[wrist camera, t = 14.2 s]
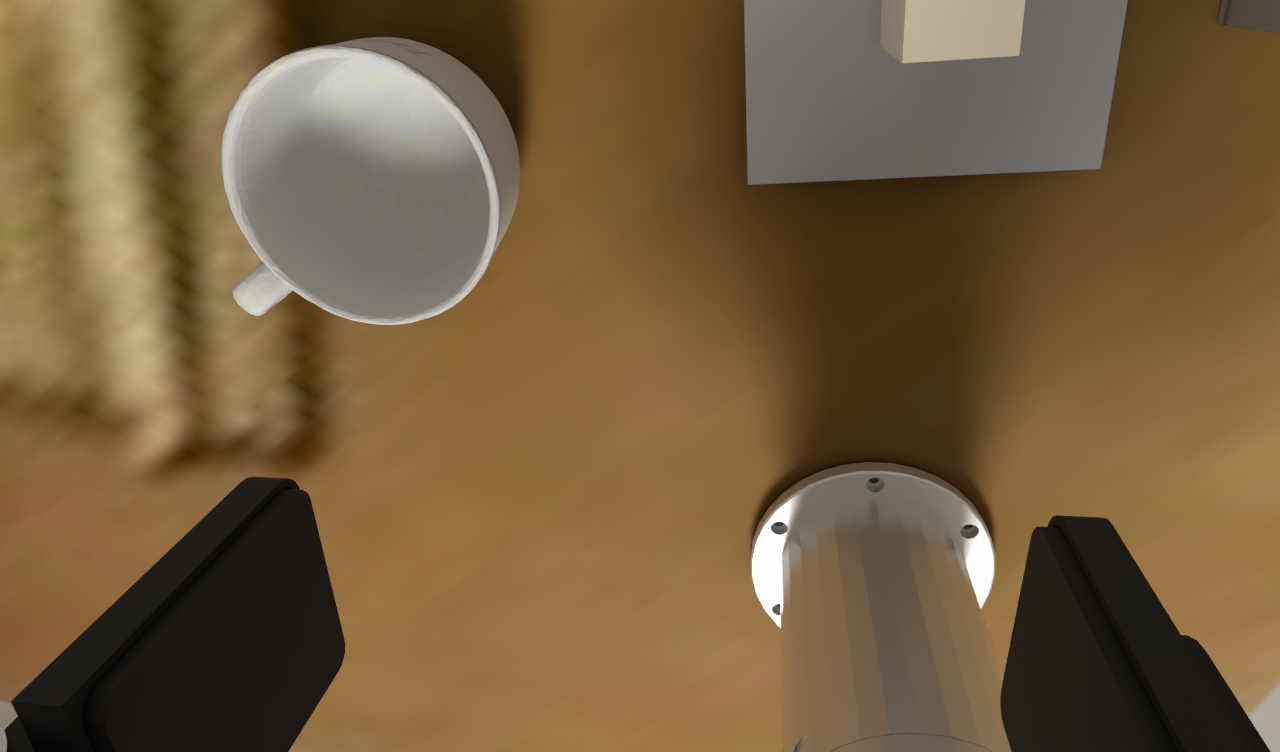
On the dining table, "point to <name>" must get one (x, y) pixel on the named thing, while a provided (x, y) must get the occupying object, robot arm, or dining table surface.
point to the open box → (1251, 14)
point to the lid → (927, 87)
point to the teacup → (369, 179)
